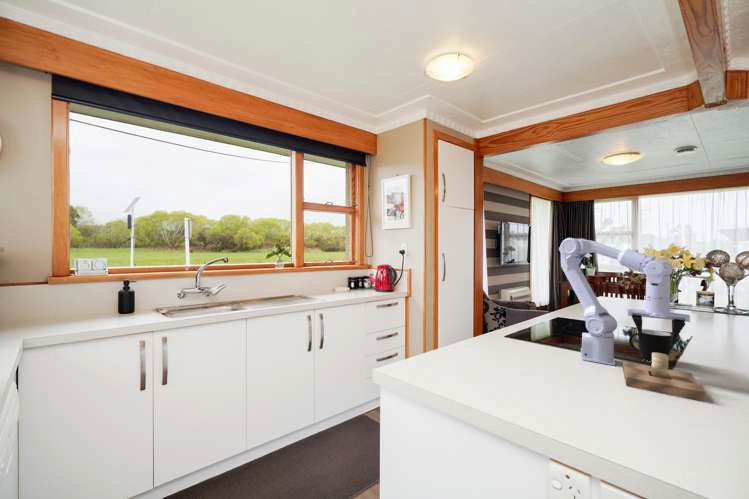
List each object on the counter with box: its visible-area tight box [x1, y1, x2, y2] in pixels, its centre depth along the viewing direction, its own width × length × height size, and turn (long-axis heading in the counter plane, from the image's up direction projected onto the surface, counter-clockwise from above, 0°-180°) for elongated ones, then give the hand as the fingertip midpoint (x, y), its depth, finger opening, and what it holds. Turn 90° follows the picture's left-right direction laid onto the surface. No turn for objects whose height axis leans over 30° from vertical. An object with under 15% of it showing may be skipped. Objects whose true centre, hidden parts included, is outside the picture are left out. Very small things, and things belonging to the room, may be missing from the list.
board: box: [622, 361, 706, 403], centre depth 95 cm, size 16×16×2 cm
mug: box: [628, 328, 672, 362], centre depth 117 cm, size 12×9×10 cm
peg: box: [651, 352, 669, 379], centre depth 96 cm, size 4×4×8 cm
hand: (656, 341), depth 102 cm, fingers open, 7 cm apart
